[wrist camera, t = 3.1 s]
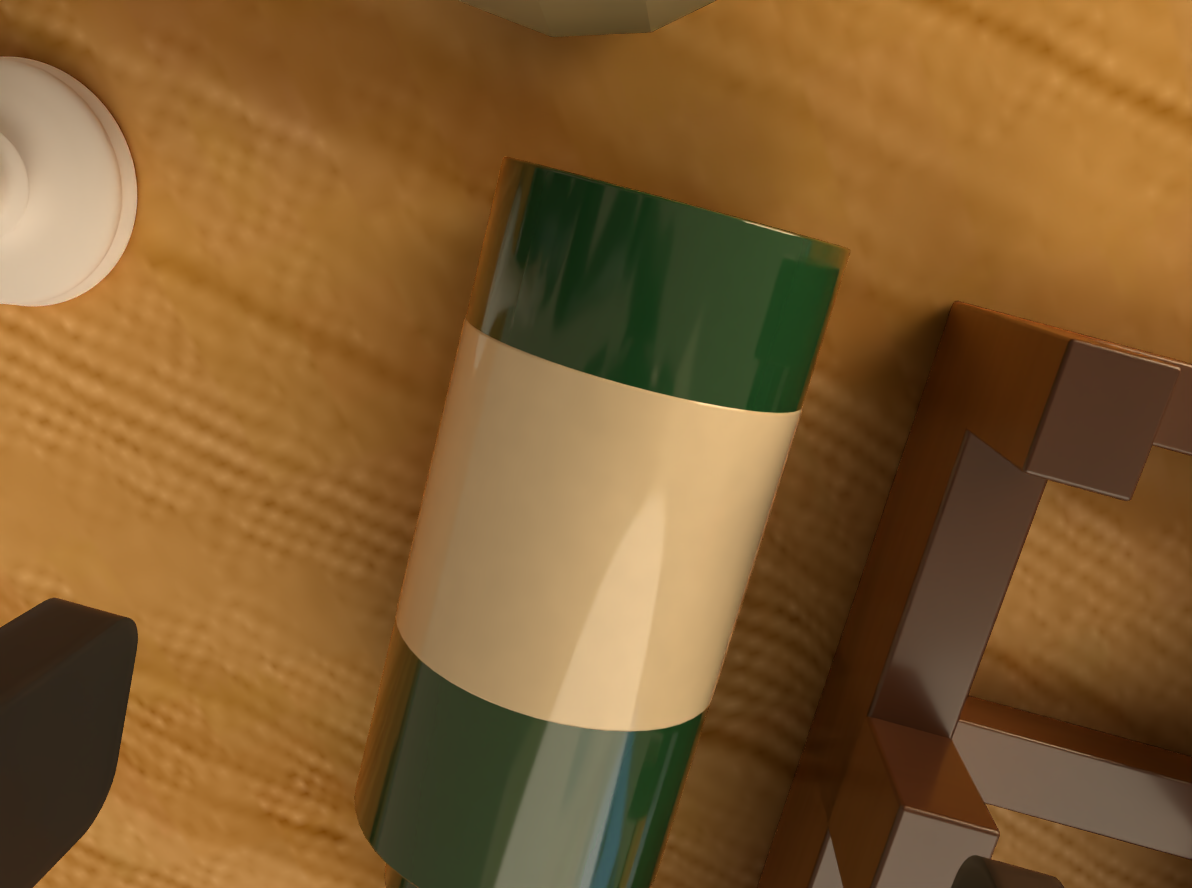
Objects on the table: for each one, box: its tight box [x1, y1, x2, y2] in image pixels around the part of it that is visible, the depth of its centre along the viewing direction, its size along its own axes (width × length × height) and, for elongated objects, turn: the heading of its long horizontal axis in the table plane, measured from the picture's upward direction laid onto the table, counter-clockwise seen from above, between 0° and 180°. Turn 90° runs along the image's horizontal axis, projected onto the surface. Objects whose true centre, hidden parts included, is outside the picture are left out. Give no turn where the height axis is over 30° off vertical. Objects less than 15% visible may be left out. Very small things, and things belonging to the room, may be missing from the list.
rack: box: [757, 301, 1192, 888], centre depth 20 cm, size 11×17×6 cm, turn 165°
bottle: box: [354, 157, 850, 888], centre depth 20 cm, size 18×6×6 cm, turn 165°
